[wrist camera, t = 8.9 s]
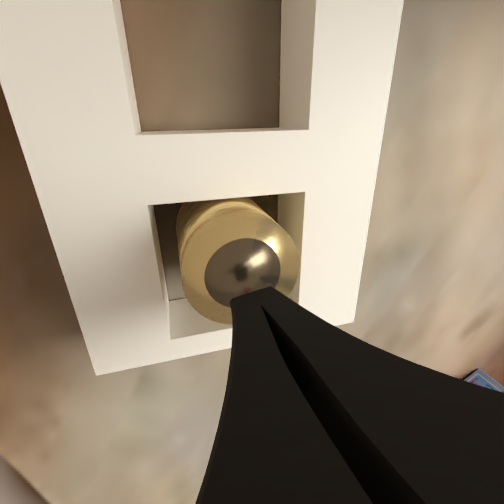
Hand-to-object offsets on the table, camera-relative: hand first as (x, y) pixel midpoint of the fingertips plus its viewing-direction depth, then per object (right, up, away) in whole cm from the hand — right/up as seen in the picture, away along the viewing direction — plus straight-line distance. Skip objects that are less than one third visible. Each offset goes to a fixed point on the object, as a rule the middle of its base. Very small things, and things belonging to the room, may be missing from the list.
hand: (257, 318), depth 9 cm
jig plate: (-2, +6, +4) cm, 7 cm away
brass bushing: (-2, +3, +5) cm, 6 cm away
